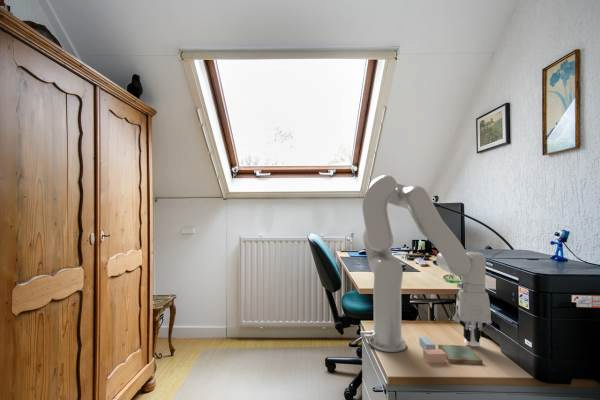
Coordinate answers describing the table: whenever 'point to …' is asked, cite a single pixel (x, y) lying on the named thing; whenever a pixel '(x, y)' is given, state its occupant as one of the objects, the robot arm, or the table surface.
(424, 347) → the slate-blue brick
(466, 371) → the table surface
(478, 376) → the table surface
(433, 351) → the terracotta brick
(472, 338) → the chess piece
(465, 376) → the table surface
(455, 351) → the green-topped square tray
